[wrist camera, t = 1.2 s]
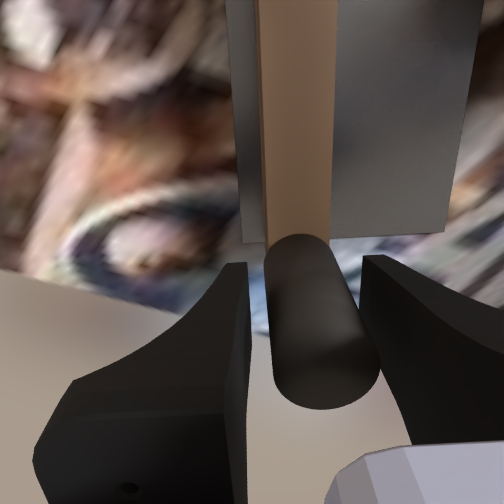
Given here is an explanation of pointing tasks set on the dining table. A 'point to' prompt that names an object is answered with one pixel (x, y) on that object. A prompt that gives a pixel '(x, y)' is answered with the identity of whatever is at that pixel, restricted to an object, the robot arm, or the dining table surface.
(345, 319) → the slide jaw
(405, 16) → the vice frame
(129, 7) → the dining table surface
